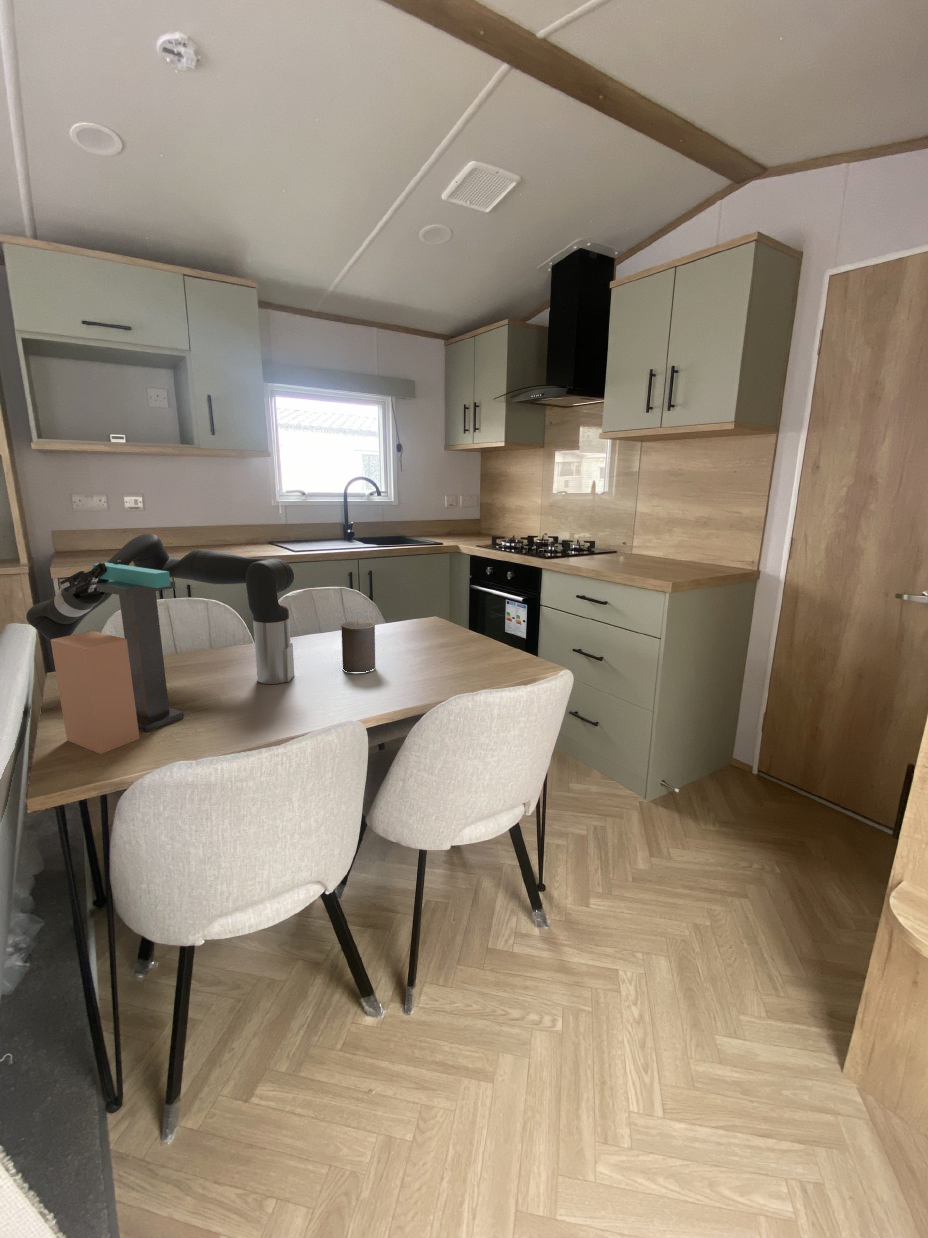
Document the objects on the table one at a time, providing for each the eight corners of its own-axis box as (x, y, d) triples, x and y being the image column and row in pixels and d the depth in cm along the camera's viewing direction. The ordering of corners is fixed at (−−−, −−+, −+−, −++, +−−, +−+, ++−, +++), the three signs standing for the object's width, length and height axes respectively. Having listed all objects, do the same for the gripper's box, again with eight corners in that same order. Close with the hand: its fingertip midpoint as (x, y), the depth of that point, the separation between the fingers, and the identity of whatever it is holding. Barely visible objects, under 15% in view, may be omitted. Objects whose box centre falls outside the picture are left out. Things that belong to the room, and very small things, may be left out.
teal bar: (94, 577, 123) (92, 564, 122) (108, 575, 126) (106, 562, 125) (157, 588, 113) (155, 573, 113) (170, 585, 116) (169, 571, 115)
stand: (115, 724, 124) (95, 583, 116) (161, 708, 133) (146, 576, 126) (143, 734, 119) (124, 588, 112) (189, 716, 129) (174, 581, 121)
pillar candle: (335, 671, 161) (334, 621, 158) (354, 662, 170) (353, 614, 166) (364, 676, 158) (363, 625, 154) (382, 666, 167) (381, 618, 163)
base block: (67, 740, 116) (50, 639, 111) (106, 726, 123) (92, 630, 118) (100, 754, 111) (84, 649, 105) (139, 738, 118) (126, 639, 112)
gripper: (115, 605, 136) (150, 576, 128) (52, 616, 124) (85, 585, 115) (103, 577, 136) (136, 546, 128) (38, 586, 124) (70, 552, 116)
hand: (112, 565), depth 122 cm, fingers closed on teal bar, 3 cm apart
